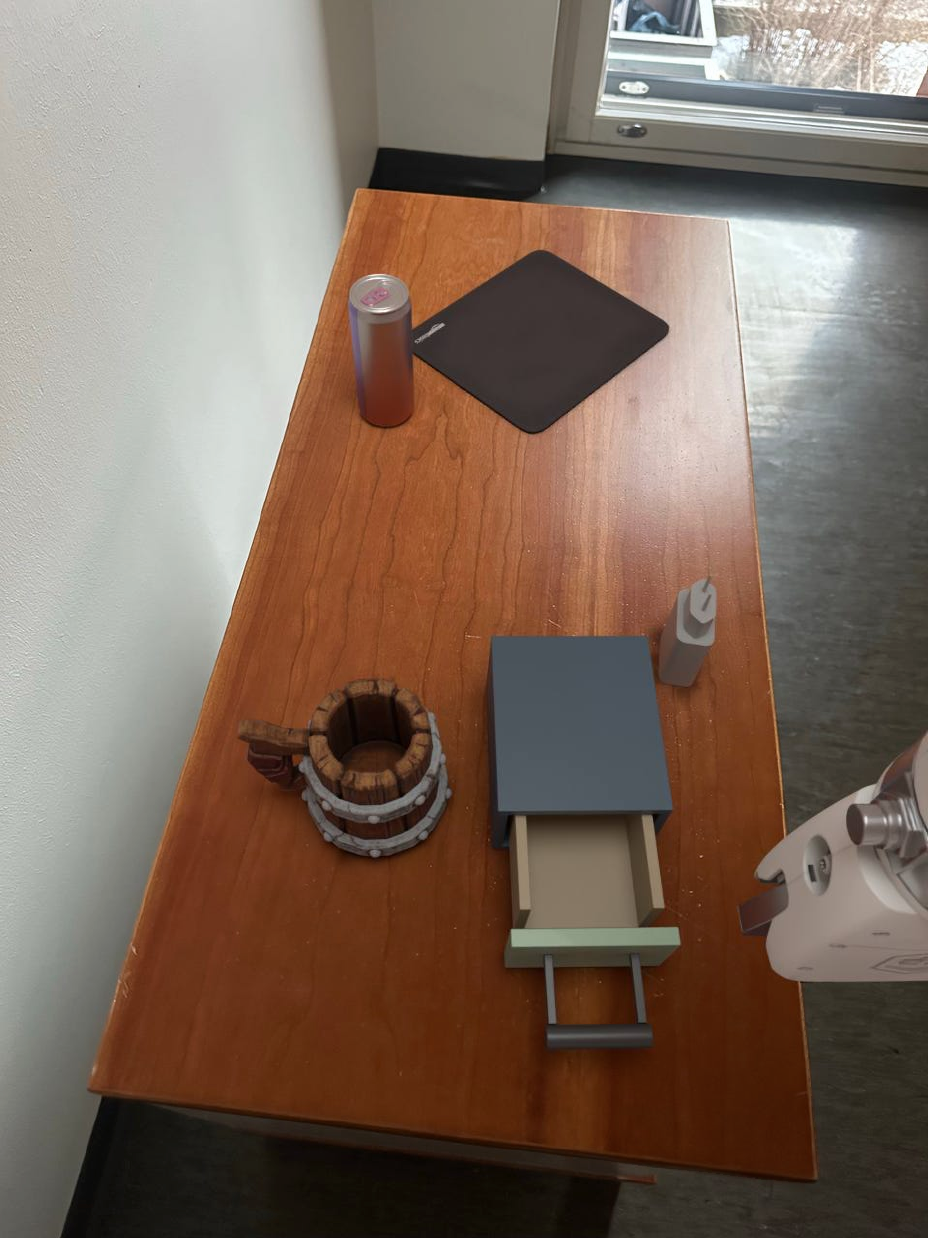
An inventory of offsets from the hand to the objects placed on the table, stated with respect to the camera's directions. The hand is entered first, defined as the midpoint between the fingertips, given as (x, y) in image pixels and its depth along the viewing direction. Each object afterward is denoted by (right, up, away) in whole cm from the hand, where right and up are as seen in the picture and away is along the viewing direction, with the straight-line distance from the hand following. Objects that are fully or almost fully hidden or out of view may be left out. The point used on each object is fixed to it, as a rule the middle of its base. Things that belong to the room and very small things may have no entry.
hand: (807, 950), depth 45 cm
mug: (-26, +2, +28) cm, 38 cm away
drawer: (-9, -6, +22) cm, 25 cm away
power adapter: (+2, +13, +36) cm, 38 cm away
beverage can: (-26, +39, +51) cm, 70 cm away
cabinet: (-9, +5, +30) cm, 32 cm away
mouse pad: (-9, +49, +58) cm, 77 cm away
